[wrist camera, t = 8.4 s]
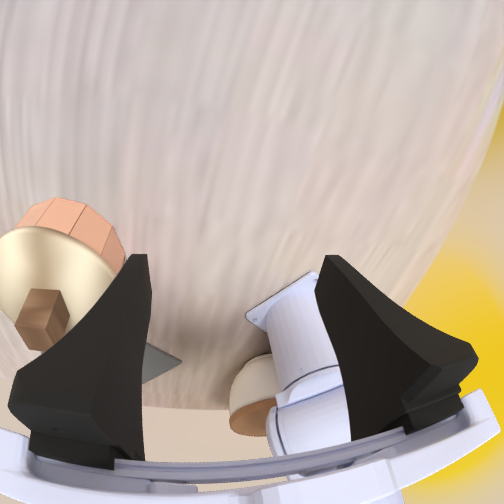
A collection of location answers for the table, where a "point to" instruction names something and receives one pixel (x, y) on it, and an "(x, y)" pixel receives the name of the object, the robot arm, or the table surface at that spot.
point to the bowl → (78, 227)
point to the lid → (48, 283)
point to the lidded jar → (253, 396)
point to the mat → (155, 363)
